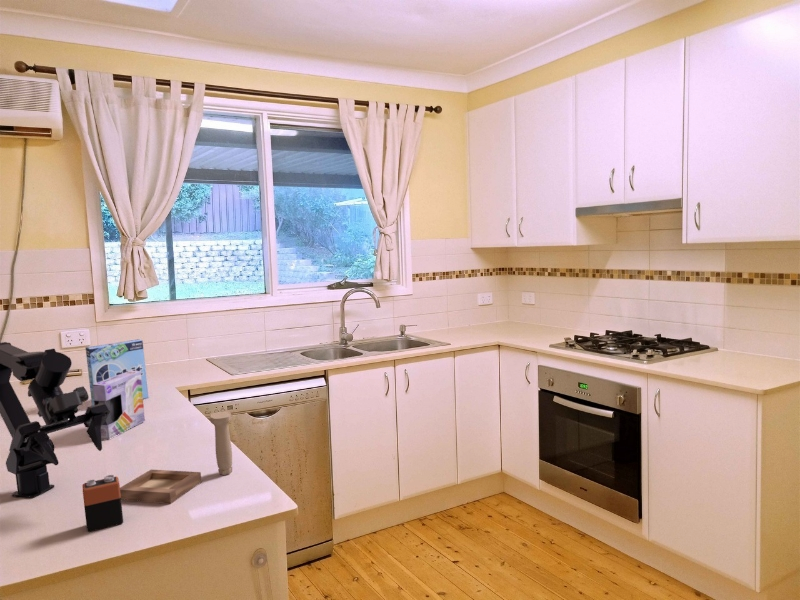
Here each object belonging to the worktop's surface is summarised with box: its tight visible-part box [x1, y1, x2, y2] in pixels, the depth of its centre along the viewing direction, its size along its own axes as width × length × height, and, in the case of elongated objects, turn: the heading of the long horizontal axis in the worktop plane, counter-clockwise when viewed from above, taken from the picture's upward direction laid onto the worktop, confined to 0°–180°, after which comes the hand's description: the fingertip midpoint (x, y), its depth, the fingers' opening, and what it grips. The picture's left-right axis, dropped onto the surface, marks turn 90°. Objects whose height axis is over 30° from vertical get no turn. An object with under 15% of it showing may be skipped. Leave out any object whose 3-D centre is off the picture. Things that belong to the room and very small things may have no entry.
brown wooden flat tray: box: [120, 469, 202, 504], centre depth 142 cm, size 14×12×2 cm
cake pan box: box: [92, 371, 146, 440], centre depth 191 cm, size 19×5×18 cm, turn 168°
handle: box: [210, 410, 233, 476], centre depth 150 cm, size 5×6×15 cm
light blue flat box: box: [85, 339, 150, 406], centre depth 227 cm, size 20×5×23 cm, turn 134°
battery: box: [82, 474, 124, 532], centre depth 125 cm, size 4×7×10 cm, turn 119°
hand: (79, 456), depth 129 cm, fingers open, 9 cm apart
